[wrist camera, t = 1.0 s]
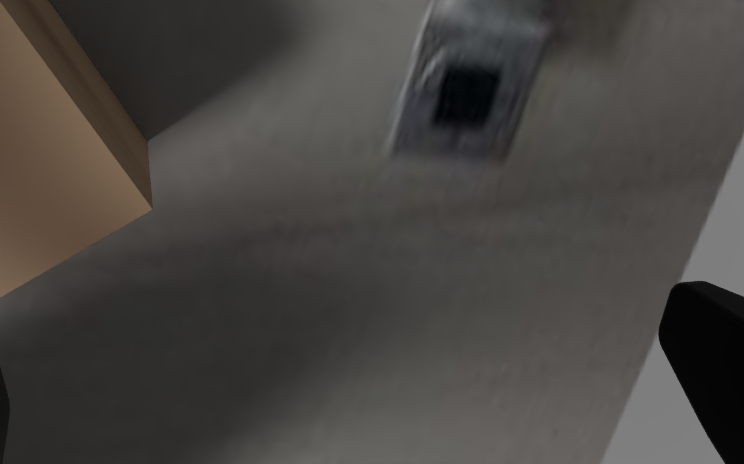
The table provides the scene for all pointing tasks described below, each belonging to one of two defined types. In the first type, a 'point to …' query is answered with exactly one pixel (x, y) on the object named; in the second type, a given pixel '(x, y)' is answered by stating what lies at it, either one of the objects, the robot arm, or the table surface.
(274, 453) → the table surface
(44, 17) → the walnut cube
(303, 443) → the table surface
